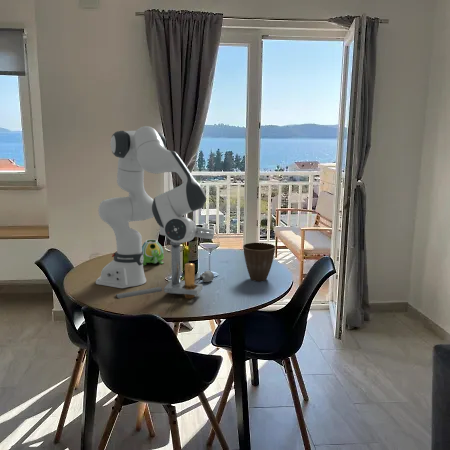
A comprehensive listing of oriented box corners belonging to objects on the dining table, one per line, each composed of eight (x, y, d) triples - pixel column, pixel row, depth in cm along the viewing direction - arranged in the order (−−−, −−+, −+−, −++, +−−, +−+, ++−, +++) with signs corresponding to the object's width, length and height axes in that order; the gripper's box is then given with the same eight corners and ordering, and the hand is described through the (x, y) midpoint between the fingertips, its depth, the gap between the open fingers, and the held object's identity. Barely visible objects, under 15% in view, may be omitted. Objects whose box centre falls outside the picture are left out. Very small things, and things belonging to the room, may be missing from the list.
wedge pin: (183, 298, 180) (183, 265, 177) (186, 295, 184) (186, 262, 181) (192, 299, 179) (192, 266, 177) (195, 295, 183) (195, 263, 180)
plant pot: (272, 285, 198) (273, 250, 195) (240, 283, 200) (240, 249, 197) (275, 275, 212) (276, 243, 209) (245, 273, 215) (245, 241, 212)
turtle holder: (143, 269, 220) (143, 246, 218) (138, 260, 237) (137, 238, 234) (168, 267, 224) (167, 244, 222) (161, 258, 241) (160, 237, 238)
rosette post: (163, 298, 180) (163, 245, 176) (172, 289, 190) (172, 240, 186) (197, 301, 177) (197, 248, 173) (204, 292, 187) (204, 242, 183)
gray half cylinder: (115, 297, 182) (114, 293, 182) (158, 289, 192) (158, 285, 192) (118, 300, 179) (118, 296, 178) (162, 292, 189) (162, 288, 188)
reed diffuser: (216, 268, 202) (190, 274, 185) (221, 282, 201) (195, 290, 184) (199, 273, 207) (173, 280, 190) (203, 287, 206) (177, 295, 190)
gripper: (213, 226, 156) (217, 226, 169) (158, 216, 157) (166, 217, 171) (210, 243, 156) (214, 242, 169) (155, 233, 157) (163, 233, 171)
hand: (189, 229), depth 170 cm, fingers open, 8 cm apart
